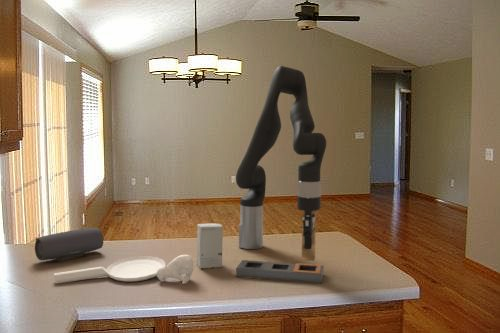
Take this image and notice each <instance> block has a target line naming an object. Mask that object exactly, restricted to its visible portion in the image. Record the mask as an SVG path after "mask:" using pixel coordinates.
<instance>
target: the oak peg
mask: <svg viewBox="0 0 500 333" xmlns="http://www.w3.org/2000/svg"><path fill="white" fill-rule="evenodd" d="M316 232H317V231H316V227H314V230H312V247H311V249H305V248H304V243H305V237H304V236H303V228H302V229H301V261H309V262H310V261H311V262H314V261H315V259H316ZM306 233H310V232H309V231H306Z"/></svg>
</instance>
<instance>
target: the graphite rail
mask: <svg viewBox="0 0 500 333" xmlns="http://www.w3.org/2000/svg"><path fill="white" fill-rule="evenodd" d="M324 269H325V266H324V265H322V264H313V263H312V264H310V263H297V262H296V263H290V262H289V263H287V262H275V261H259V260H248V259H245V260H244V259H242V260H241V261H240V262H239V264H238V265H237V266H236V267H235V277H236V276H240V277H239V278H244V277H252V278H251V279H257V278H261V279H260V280H270V281H272V280H273V281H284V282H297V283H309V284H323V279H324V271H325V270H324Z"/></svg>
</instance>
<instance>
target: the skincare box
mask: <svg viewBox="0 0 500 333" xmlns="http://www.w3.org/2000/svg"><path fill="white" fill-rule="evenodd" d="M223 233H224V227H223V225H222V224H220V223H212V222H211V223H208V222H207V223H197V233H196V235H197V240H196V242H197V244H196V245H197V246H196V247H197V248H196V264H197V266H198V268H199V269H201V270H202V268H203V269H212V267H214V268H222V267H223V241H224V240H223V235H224V234H223Z"/></svg>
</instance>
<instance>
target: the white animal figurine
mask: <svg viewBox="0 0 500 333" xmlns="http://www.w3.org/2000/svg"><path fill="white" fill-rule="evenodd" d="M193 267H194V260H193V257H192V256H191V255H189V254H181V255H178V256H177V257H174V259H172V260H171V261H170V262H168V263H167V265H166V264H165V267H161V268H159V269H158V270H157V273H156V274H157V276H156V277H157V278H158V280H160V282H161V283H163V282H166V280H167V278H173V279H177V280H180V281H181V283H182V285H185V284H187V283H188V282H189V281H190V279H191V276H192V275H193V272H194V268H193ZM184 274H185V275H184ZM183 275H184V276H183Z"/></svg>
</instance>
